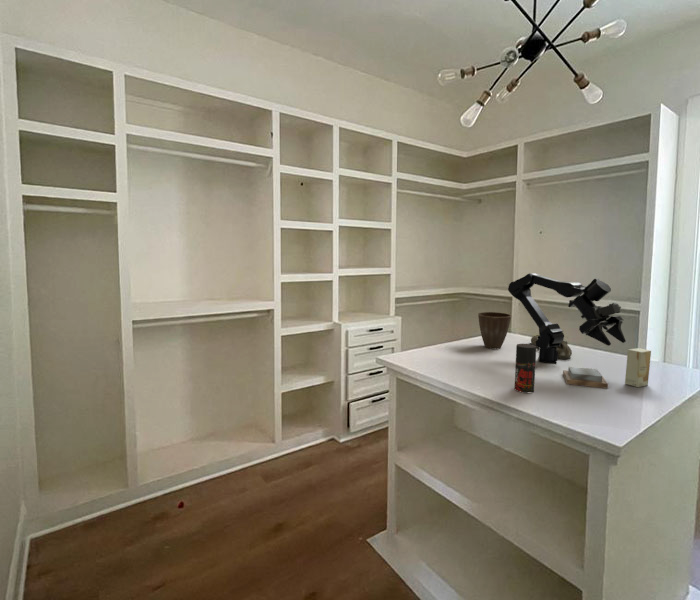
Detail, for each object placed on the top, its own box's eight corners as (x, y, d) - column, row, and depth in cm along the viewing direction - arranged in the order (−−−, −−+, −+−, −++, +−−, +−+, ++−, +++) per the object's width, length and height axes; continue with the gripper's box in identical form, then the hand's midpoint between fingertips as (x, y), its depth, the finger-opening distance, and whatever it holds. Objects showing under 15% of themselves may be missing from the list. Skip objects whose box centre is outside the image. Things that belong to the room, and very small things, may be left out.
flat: (549, 343, 200) (550, 328, 199) (578, 360, 168) (579, 342, 167) (527, 342, 201) (527, 328, 200) (551, 359, 169) (552, 342, 168)
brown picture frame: (567, 383, 137) (567, 374, 136) (563, 374, 148) (563, 365, 147) (607, 388, 132) (608, 378, 132) (600, 377, 143) (601, 368, 143)
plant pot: (513, 346, 192) (515, 313, 190) (504, 352, 180) (505, 317, 178) (483, 342, 201) (484, 311, 199) (472, 347, 189) (473, 314, 188)
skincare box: (637, 387, 133) (640, 352, 131) (624, 384, 137) (626, 349, 135) (648, 385, 135) (652, 350, 134) (635, 381, 139) (638, 347, 138)
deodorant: (510, 388, 133) (512, 344, 131) (523, 386, 135) (525, 343, 133) (524, 394, 127) (526, 348, 125) (538, 391, 129) (540, 346, 128)
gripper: (589, 296, 139) (620, 333, 131) (619, 294, 148) (650, 328, 139) (567, 316, 147) (595, 351, 138) (596, 312, 156) (624, 345, 147)
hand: (617, 343), depth 141 cm, fingers open, 9 cm apart
